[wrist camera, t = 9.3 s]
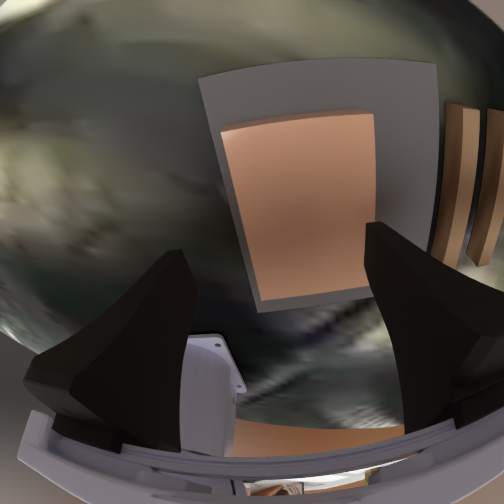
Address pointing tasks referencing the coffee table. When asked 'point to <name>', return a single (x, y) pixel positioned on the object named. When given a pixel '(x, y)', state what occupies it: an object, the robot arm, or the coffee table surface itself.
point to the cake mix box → (277, 489)
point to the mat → (342, 98)
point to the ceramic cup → (370, 472)
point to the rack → (470, 186)
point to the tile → (305, 198)
